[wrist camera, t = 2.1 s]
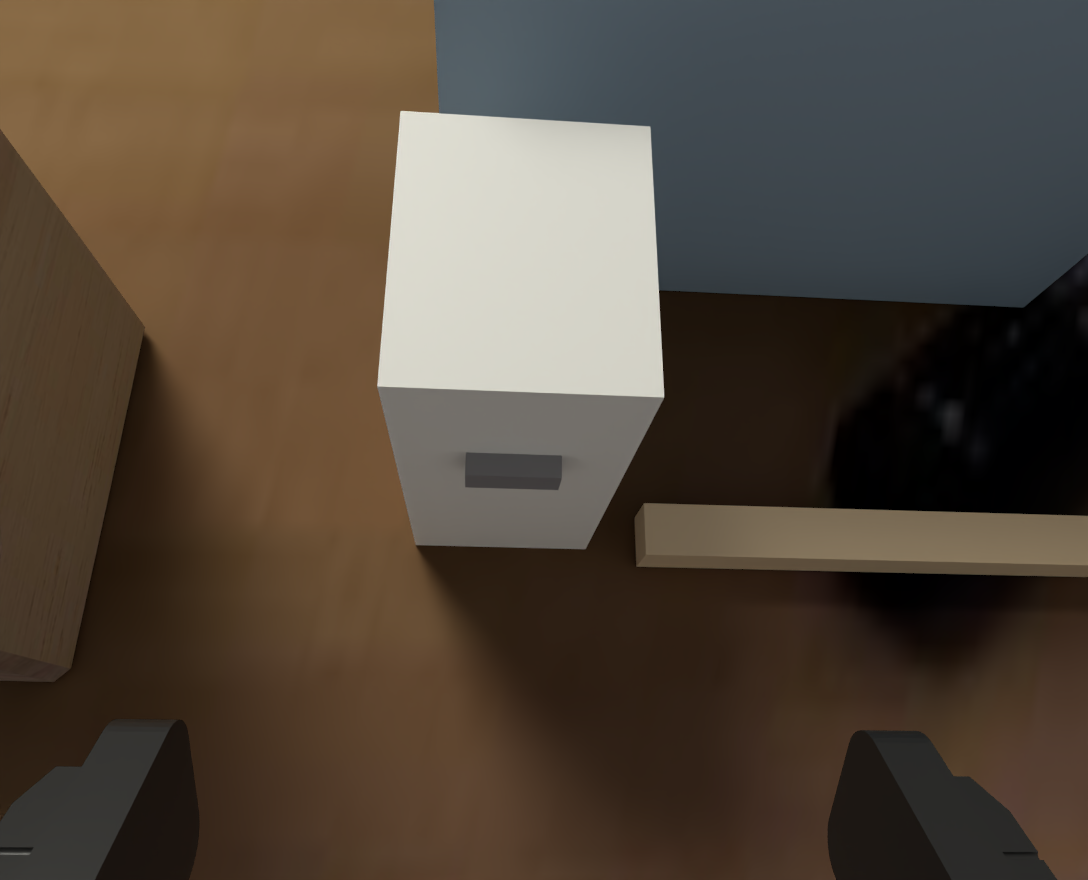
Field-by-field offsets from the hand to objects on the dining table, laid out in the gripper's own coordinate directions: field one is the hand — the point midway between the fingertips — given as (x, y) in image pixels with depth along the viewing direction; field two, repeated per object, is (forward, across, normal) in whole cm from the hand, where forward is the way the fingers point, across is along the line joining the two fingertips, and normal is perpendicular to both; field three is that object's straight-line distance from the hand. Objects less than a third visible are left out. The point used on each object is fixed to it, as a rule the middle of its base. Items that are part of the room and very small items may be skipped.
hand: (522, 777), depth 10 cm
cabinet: (+16, 0, +3) cm, 16 cm away
